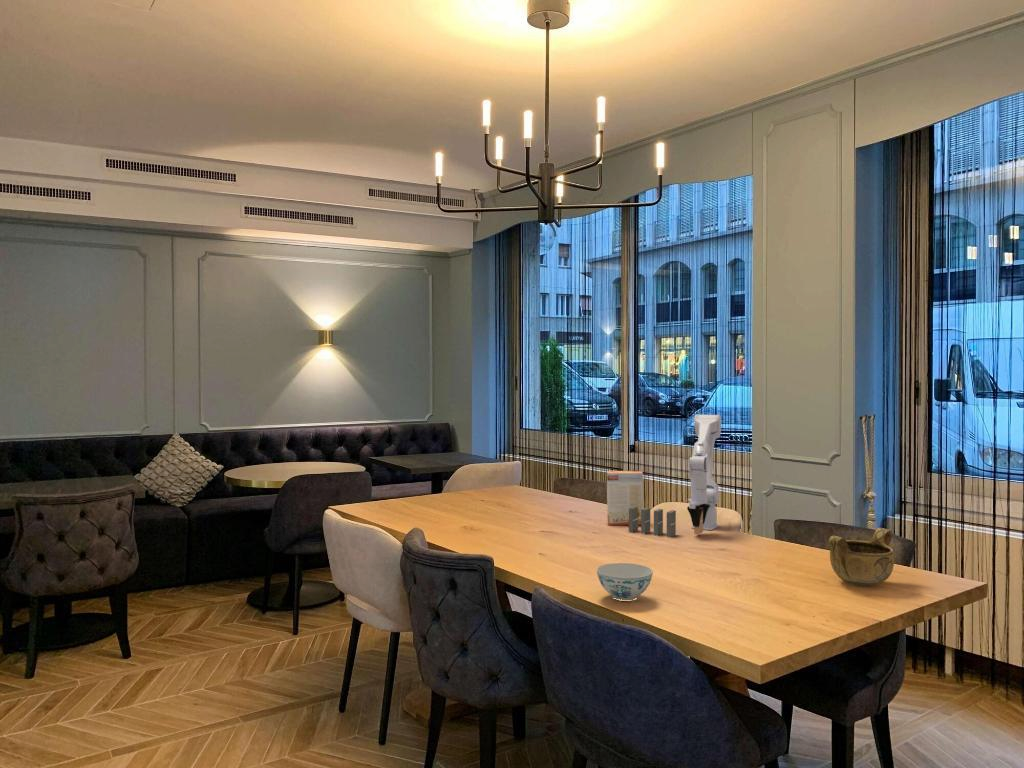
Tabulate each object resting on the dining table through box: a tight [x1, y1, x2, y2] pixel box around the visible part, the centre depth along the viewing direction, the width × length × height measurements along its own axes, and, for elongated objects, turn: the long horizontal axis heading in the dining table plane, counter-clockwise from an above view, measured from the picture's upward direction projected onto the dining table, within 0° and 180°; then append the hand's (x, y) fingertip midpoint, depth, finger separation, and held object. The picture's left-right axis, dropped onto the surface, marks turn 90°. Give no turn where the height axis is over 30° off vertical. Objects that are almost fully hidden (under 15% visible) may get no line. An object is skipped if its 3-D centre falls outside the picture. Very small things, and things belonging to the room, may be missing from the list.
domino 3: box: [666, 509, 677, 538], centre depth 284 cm, size 5×2×9 cm, turn 147°
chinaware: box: [596, 562, 654, 600], centre depth 208 cm, size 15×15×8 cm
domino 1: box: [640, 507, 651, 534], centre depth 289 cm, size 5×2×9 cm, turn 147°
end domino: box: [628, 506, 639, 533], centre depth 292 cm, size 5×2×9 cm, turn 147°
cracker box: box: [606, 470, 644, 526], centre depth 304 cm, size 14×6×21 cm, turn 84°
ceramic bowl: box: [828, 527, 895, 588], centre depth 220 cm, size 22×17×15 cm
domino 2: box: [653, 508, 664, 536], centre depth 286 cm, size 5×2×9 cm, turn 147°
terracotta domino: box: [693, 511, 704, 535], centre depth 284 cm, size 5×2×9 cm, turn 147°
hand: (698, 525), depth 284 cm, fingers closed on terracotta domino, 5 cm apart
